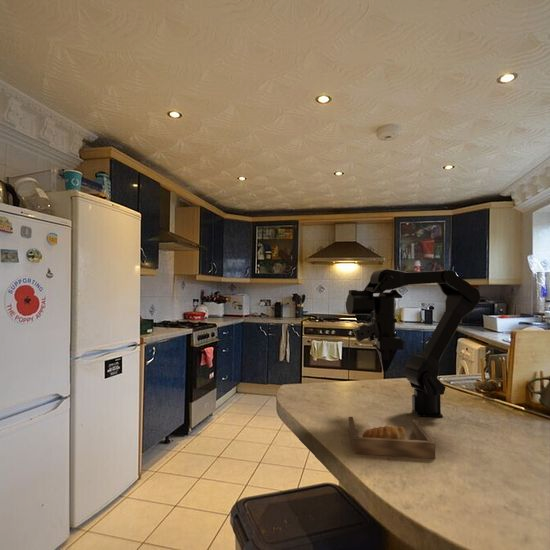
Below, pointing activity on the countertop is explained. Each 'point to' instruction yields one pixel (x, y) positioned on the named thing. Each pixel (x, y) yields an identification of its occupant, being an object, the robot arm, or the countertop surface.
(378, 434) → the pastry
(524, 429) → the countertop surface
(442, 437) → the countertop surface
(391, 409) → the countertop surface
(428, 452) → the box
